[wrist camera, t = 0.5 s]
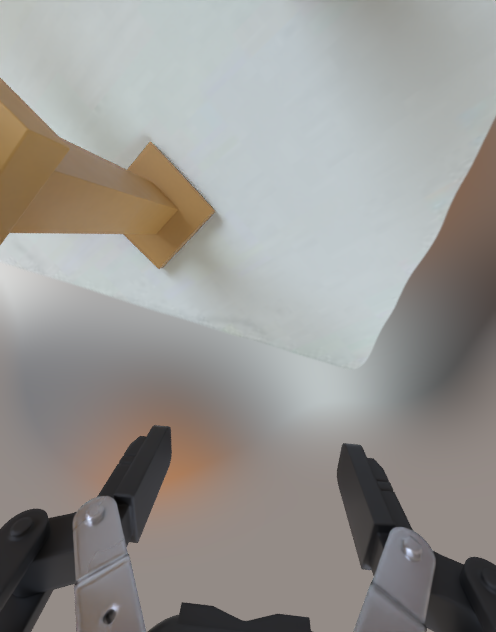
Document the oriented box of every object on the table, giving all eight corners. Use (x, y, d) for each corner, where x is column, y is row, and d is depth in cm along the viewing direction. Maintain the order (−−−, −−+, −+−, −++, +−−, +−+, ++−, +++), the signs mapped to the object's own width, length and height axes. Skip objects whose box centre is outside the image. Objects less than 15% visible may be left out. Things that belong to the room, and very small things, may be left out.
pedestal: (221, 216, 37) (28, 129, 6) (167, 273, 40) (-155, 403, 9) (148, 138, 35) (-680, -574, 4) (96, 203, 37) (-662, 55, 7)
